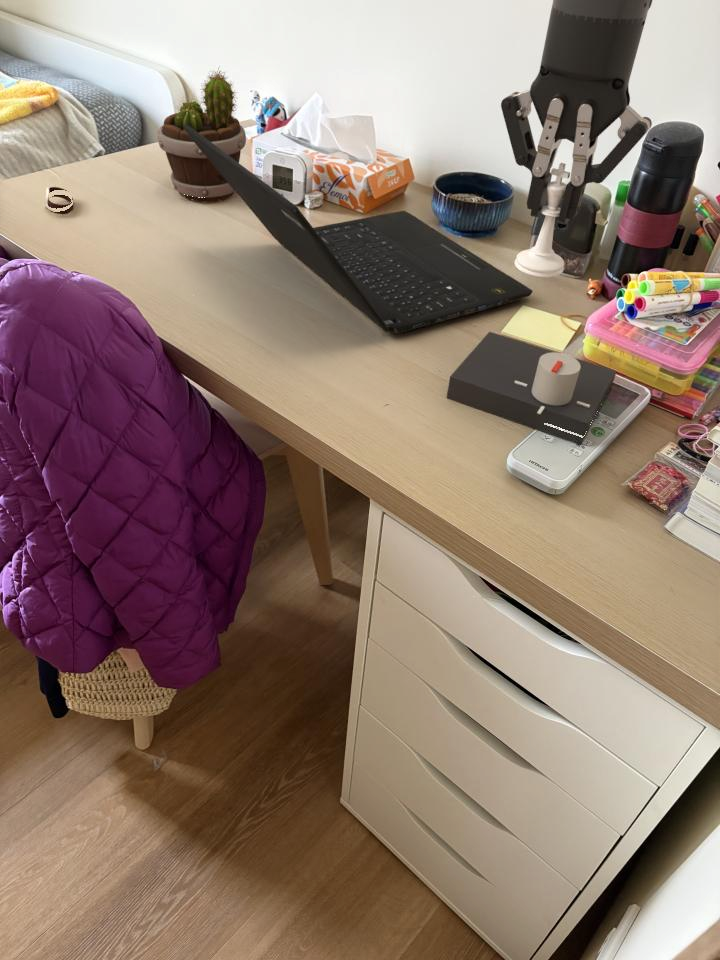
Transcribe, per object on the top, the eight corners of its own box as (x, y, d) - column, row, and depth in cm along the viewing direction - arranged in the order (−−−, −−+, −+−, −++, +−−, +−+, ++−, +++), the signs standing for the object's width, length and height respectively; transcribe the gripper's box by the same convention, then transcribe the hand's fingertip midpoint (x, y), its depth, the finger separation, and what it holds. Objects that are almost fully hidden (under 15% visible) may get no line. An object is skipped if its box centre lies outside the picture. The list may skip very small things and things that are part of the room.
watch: (45, 201, 120) (40, 179, 118) (75, 199, 122) (70, 177, 119) (45, 219, 115) (39, 196, 113) (76, 216, 116) (71, 194, 114)
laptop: (533, 303, 101) (565, 160, 88) (295, 369, 86) (293, 208, 73) (404, 218, 122) (415, 92, 109) (194, 259, 107) (178, 118, 94)
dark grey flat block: (609, 391, 85) (617, 369, 83) (577, 451, 76) (584, 428, 74) (485, 352, 91) (489, 330, 89) (441, 403, 82) (445, 380, 80)
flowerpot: (157, 207, 121) (138, 74, 107) (174, 175, 132) (158, 52, 119) (243, 211, 121) (235, 79, 108) (253, 179, 132) (246, 56, 119)
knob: (539, 378, 81) (547, 345, 78) (576, 390, 80) (586, 357, 77) (525, 397, 78) (534, 363, 75) (564, 410, 77) (574, 376, 74)
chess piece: (527, 251, 75) (549, 151, 68) (571, 265, 73) (598, 163, 66) (506, 267, 72) (526, 164, 65) (551, 282, 70) (577, 177, 63)
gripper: (502, -1, 57) (469, 213, 69) (678, 25, 53) (611, 250, 64) (533, -12, 62) (497, 190, 74) (696, 11, 57) (631, 222, 69)
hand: (550, 217), depth 69 cm, fingers closed on chess piece
